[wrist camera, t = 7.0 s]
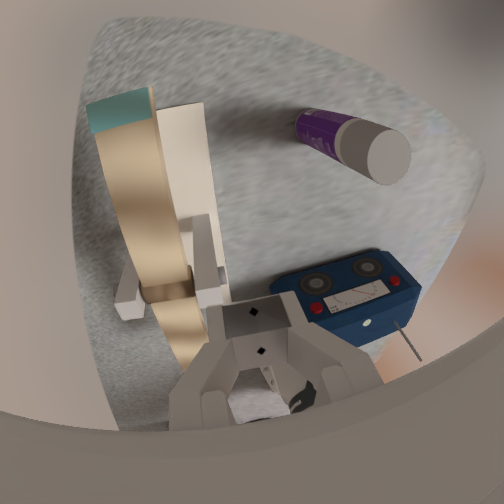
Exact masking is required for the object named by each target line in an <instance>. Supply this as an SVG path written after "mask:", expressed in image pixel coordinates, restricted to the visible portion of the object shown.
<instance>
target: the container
mask: <svg viewBox="0 0 504 504" xmlns="http://www.w3.org/2000/svg"><path fill="white" fill-rule="evenodd" d="M294 128H295V133H296V135H297V137H298V138H299V140H301V141H302V142H303V143H305V144H307V145H309V146H311V147H313V148H315V149H316V150H318V151H320V152H322V153H324V154H326V155H328V156H329V157H331V158H333V159H335V160H337V161H338V162H340V163H342V164H344V165H345V166H347V167H349V168H351V169H353V170H355V171H357V172H359V173H360V174H362V175H364V176H366V177H368V178H369V179H371V180H373V181H375V182H377V183H378V184H381V185H392V184H394V183H396V182H398V181H399V180H400V179H401V178H402V177H403V176H404V175H405V173H406V172H407V170H408V168H409V165H410V161H411V149H410V145H409V142H408V140H407V138H406V137H405V136H404V135H403V134H402V133H401V132H399V131H397V130H394V129H391V128H388V127H386V126H383V125H380V124H377V123H374V122H370V121H367V120H364V119H361V118H357V117H353V116H349V115H344V114H340V113H335V112H330V111H326V110H320V109H314V108H310V109H306V110H304V111H302V112H301V113H300V114H299V115H298V116H297V118H296V120H295V125H294Z"/></svg>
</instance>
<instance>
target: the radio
mask: <svg viewBox="0 0 504 504" xmlns="http://www.w3.org/2000/svg"><path fill="white" fill-rule="evenodd" d="M421 288H422V286H421V285H420V284H419V283H418V282H417V281H416V280H415V279H414V278H413V277H412V275H411V274H410V273H409V272H408V271H407V270H406V269H405V268H404V267H403V266H402V265H401V264H400V263H399V262H398V261H397V260H396V259H395V258H394V257H393V256H392V255H391V254H390V253H389V252H388V251H371V252H367V253H364V254H361V255H357V256H354V257H350V258H347V259H343V260H340V261H337V262H333V263H330V264H326V265H323V266H319V267H315V268H312V269H308V270H305V271H301V272H297V273H294V274H290V275H286V276H283V277H281V278H280V279H278V280H277V281H276V282H274V283H273V284H272V285H271V286H270V292H271V295H275V294H279V293H284V292H288V291H294V292H295V294H296V297H297V299H298V301H299V303H300V305H301V308H302V310H303V312H304V314H305V316H306V319H307V321H308V323H311V322H313V323H315V324H317V325H318V326H320V327H322V328H324V329H325V330H327V331H329V332H331V333H332V334H334V335H336V336H337V337H339V338H341V339H343V340H344V341H346V342H348V343H350V344H351V345H353V346H355V347H360V346H362V345H365V344H367V343H370V342H372V341H374V340H377V339H379V338H381V337H384V336H386V335H388V334H391V333H393V332H395V331H397V330H399V331H400V332H401V334H402V335H403V337H404V338H405V340H406V341H407V343H408V344H409V345H410V347H411V349H412V350H413V352H414V353H415V355H416V356H417V358H418V359H419V361H420V362H421V361H422V359H421V358H420V356H419V354H418V353H417V352H416V350H415V349H414V347H413V345H412V344H411V343H410V341H409V340H408V338H407V337H406V335H405V334H404V332H403V331H402V330H401V328H404V327H405V326H406V325H407V323H408V322H409V320H410V318H411V317H412V314H413V312H414V309H415V306H416V303H417V300H418V297H419V294H420V291H421Z"/></svg>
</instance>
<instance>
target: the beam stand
mask: <svg viewBox="0 0 504 504" xmlns="http://www.w3.org/2000/svg"><path fill="white" fill-rule="evenodd" d="M156 113H157V120H158V126H159V132H160V138H161V144H162V149H163V155H164V160H165V166H166V171H167V176H168V181H169V186H170V190H171V195H172V200H173V204H174V209H175V213H176V218H177V222H178V226H179V230H180V235H181V239H182V243H183V247H184V251H185V255H186V259H187V262H188V265H191V267H192V271H193V275H194V280H195V292H196V296H197V299H198V303H199V306H200V309H203V308H207V306H211V305H218V304H223V303H230V302H232V301H231V295H230V289H229V283H228V277H227V271H226V265H225V259H224V253H223V246H222V240H221V233H220V227H219V220H218V214H217V207H216V200H215V193H214V186H213V179H212V171H211V164H210V156H209V149H208V141H207V133H206V125H205V116H204V108H203V102H200V103H194V104H188V105H182V106H177V107H171V108H166V109H161V110H157V111H156ZM114 296H115V301H114V305H115V307H116V309H117V311H118V313H119V315H120V317H121V318H122V320H130V319H137V318H143V317H144V309H145V300H144V298H143V295H142V290H141V281H140V279H139V276H138V274H137V271H136V269H135V266H134V264H133V261H132V258H131V256H130V253H129V252H128V255H127V258H126V262H125V265H124V268H123V272H122V275H121V279H120V282H119V284H115V285H114Z"/></svg>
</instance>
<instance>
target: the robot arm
mask: <svg viewBox="0 0 504 504" xmlns="http://www.w3.org/2000/svg"><path fill="white" fill-rule="evenodd" d="M207 323H208V337H209V342H207V343H204V344H203V346H202V347H201V349H200V350H199V352H198V353H197V355H196V356H195V358H194V359H193V360H192V362H191V363H190V365H189V366H188V368H187V369H186V371H185V372H184V374H183V375H182V376H181V378H180V379H179V381H178V382H177V384H176V385H175V387H174V388H173V389H172V391H171V392H170V394H169V431H154V432H139V431H112V430H98V429H88V428H79V427H72V426H65V425H59V424H53V423H48V422H42V421H38V420H33V419H29V418H25V417H21V416H17V415H13V414H9V413H6V412H3V411H0V504H504V318H502V319H501V320H499V321H498V322H497V323H495V324H494V325H492V326H491V327H489V328H488V329H487V330H485V331H484V332H482V333H481V334H479V335H478V336H476V337H474V338H473V339H471V340H470V341H468V342H467V343H465V344H463V345H461V346H460V347H458V348H456V349H455V350H453V351H451V352H450V353H448V354H446V355H444V356H442V357H440V358H439V359H437V360H435V361H433V362H431V363H429V364H427V365H425V366H423V367H421V368H419V369H417V370H415V371H413V372H411V373H409V374H406V375H404V376H402V377H400V378H397V379H395V380H393V381H391V382H388V383H386V384H384V382H383V380H382V379H381V377H380V375H379V373H378V371H377V369H376V367H375V366H374V364H373V362H372V360H371V358H370V357H369V355H368V354H367V353H366V352H364V351H362V350H360V349H359V348H357V347H355V346H353V345H351V344H350V343H348V342H346V341H344V340H343V339H341V338H339V337H337V336H336V335H334V334H332V333H331V332H329V331H327V330H325V329H324V328H322V327H320V326H318V325H317V324H315V323H313V322H311V323H308V321H307V319H306V316H305V314H304V312H303V310H302V308H301V305H300V303H299V301H298V299H297V297H296V294H295V292H294V291H288V292H284V293H279V294H275V295H270V296H265V297H260V298H255V299H250V300H243V301H237V302H230V303H223V304H218V305H211V306H207ZM258 367H259V368H260V370H261V372H262V374H263V375H264V377H265V379H266V381H267V383H268V385H269V386H270V388H271V390H272V392H278V394H279V395H281V397H282V399H283V401H284V403H285V404H287V405H288V406H289V409H290V413H291V414H289V415H285V416H281V417H276V418H271V419H267V420H261V421H256V422H250V423H244V424H238V425H237V423H236V421H235V418H234V416H233V413H232V411H231V408H230V406H229V403H228V401H227V399H228V397H229V394H230V392H231V390H232V388H233V386H234V384H235V381H236V379H237V377H238V375H239V371H243V370H248V369H253V368H258Z"/></svg>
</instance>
